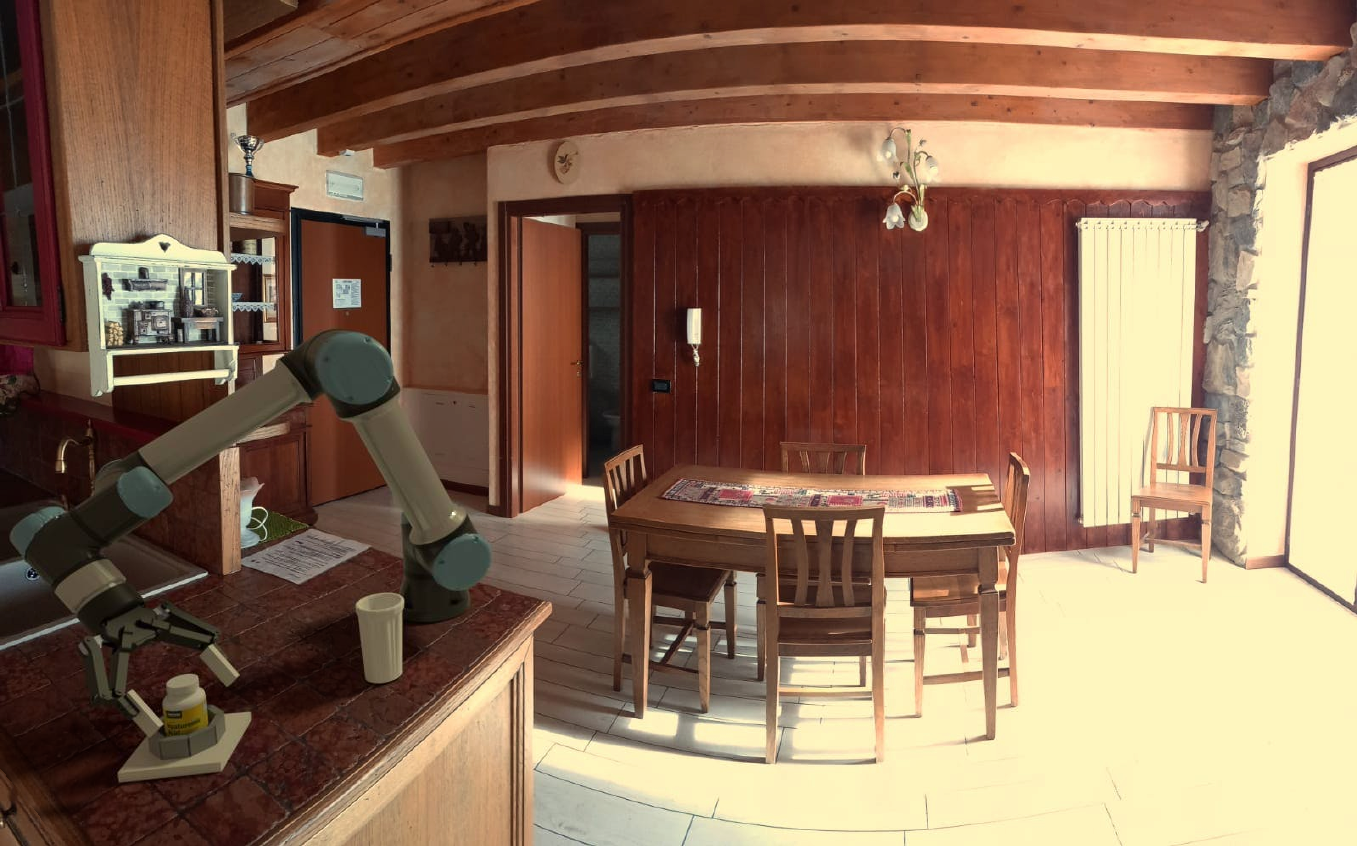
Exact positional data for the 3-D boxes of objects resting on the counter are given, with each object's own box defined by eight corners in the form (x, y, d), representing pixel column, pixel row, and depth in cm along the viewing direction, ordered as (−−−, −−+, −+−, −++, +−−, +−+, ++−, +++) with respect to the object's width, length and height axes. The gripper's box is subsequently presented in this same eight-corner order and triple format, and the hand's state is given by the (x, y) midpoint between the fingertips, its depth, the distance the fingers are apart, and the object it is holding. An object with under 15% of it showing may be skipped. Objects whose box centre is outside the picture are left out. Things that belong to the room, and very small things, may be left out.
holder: (251, 719, 120) (249, 694, 119) (221, 771, 108) (218, 743, 107) (160, 728, 117) (157, 702, 116) (118, 782, 105) (115, 753, 104)
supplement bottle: (163, 754, 109) (155, 693, 107) (171, 733, 114) (164, 674, 112) (206, 746, 111) (200, 685, 109) (212, 726, 116) (206, 668, 114)
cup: (392, 690, 130) (388, 613, 127) (349, 685, 131) (345, 608, 128) (416, 667, 137) (413, 594, 135) (376, 662, 139) (372, 590, 136)
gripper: (162, 580, 124) (248, 675, 124) (-1, 651, 100) (104, 770, 100) (186, 553, 122) (273, 650, 121) (25, 619, 98) (132, 740, 98)
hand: (197, 704), depth 111 cm, fingers open, 13 cm apart
